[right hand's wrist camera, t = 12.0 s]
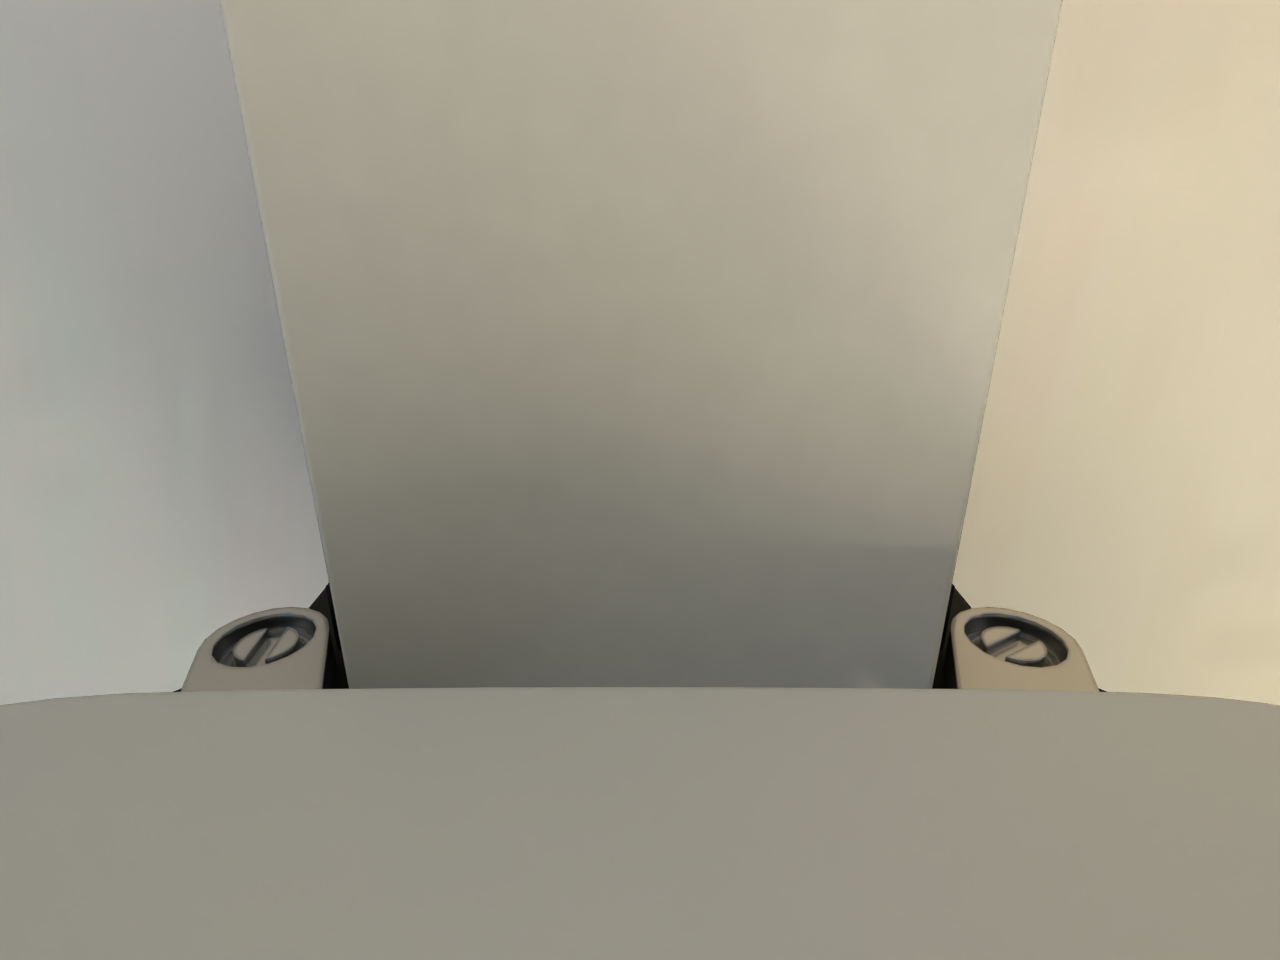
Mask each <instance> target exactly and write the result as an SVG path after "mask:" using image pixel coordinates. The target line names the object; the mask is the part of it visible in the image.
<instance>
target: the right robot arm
mask: <svg viewBox="0 0 1280 960" xmlns="http://www.w3.org/2000/svg"><path fill="white" fill-rule="evenodd" d="M0 960H1280V706H1278V705H1272V704H1266V703H1259V702H1250V701H1241V700H1233V699H1224V698H1215V697H1200V696H1184V695H1167V694H1151V693H1125V692H1106V691H1104V690H1101V689H1099V688H1098V687H1097V684H1096V682H1095V679H1094V677H1093V675H1092V672H1091V670H1090V667H1089V665H1088V663H1087V660H1086V658H1085V655H1084V653H1083V651H1082V649H1081V648H1080V646H1079V645H1078V643H1077V642H1076V640H1075V639H1074V638H1072V637H1071V636H1070V635H1069V634H1067V633H1066V632H1065V631H1064V630H1062V629H1061V628H1059V627H1057V626H1055V625H1053V624H1052V623H1050V622H1048V621H1046V620H1044V619H1041V618H1038V617H1036V616H1033V615H1030V614H1027V613H1024V612H1019V611H1015V610H1010V609H1005V608H994V607H982V608H971V607H970V606H969V604H968V603H967V602H966V601H965V600H964V598H963V597H962V596H961V595H960V594H959V592H958V591H957V590H956V589H955V586H954V585H953V584H952V586H951V591H950V596H949V602H948V607H947V612H946V617H945V623H944V628H943V633H942V638H941V644H940V649H939V654H938V660H937V665H936V670H935V675H934V681H933V686H932V689H895V688H775V687H477V688H382V689H349V685H348V680H347V675H346V669H345V664H344V659H343V653H342V648H341V643H340V637H339V632H338V627H337V622H336V616H335V611H334V606H333V600H332V595H331V590H330V584H329V583H328V585H327V586H326V588H325V589H324V590H323V592H322V593H321V594H320V595H319V596H318V598H317V599H316V600H315V601H314V602H313V604H312V605H311V606H310V607H309V609H308V608H298V607H286V608H275V609H270V610H265V611H261V612H256V613H253V614H250V615H247V616H244V617H242V618H239V619H236V620H234V621H232V622H230V623H228V624H227V625H225V626H223V627H221V628H219V629H218V630H216V631H215V632H214V633H213V634H211V635H210V636H209V637H208V638H206V639H205V640H204V642H203V643H202V645H201V646H200V648H199V649H198V651H197V653H196V655H195V658H194V660H193V663H192V665H191V667H190V670H189V672H188V675H187V677H186V679H185V682H184V684H183V687H182V688H181V689H179V690H176V691H174V692H160V693H126V694H111V695H96V696H82V697H67V698H54V699H46V700H39V701H31V702H23V703H15V704H7V705H1V706H0Z"/></svg>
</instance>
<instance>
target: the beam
mask: <svg viewBox="0 0 1280 960" xmlns="http://www.w3.org/2000/svg"><path fill="white" fill-rule="evenodd" d="M1062 1H1063V0H220V5H221V10H222V15H223V21H224V26H225V31H226V37H227V42H228V47H229V52H230V58H231V63H232V68H233V74H234V79H235V84H236V90H237V95H238V100H239V106H240V111H241V116H242V122H243V127H244V132H245V138H246V143H247V148H248V154H249V159H250V164H251V169H252V175H253V180H254V185H255V191H256V196H257V201H258V207H259V212H260V217H261V223H262V228H263V233H264V239H265V244H266V249H267V255H268V260H269V265H270V271H271V276H272V281H273V286H274V292H275V297H276V302H277V308H278V313H279V318H280V324H281V329H282V334H283V340H284V345H285V350H286V356H287V361H288V366H289V372H290V377H291V382H292V388H293V393H294V398H295V403H296V409H297V414H298V419H299V425H300V430H301V435H302V441H303V446H304V451H305V457H306V462H307V467H308V473H309V478H310V483H311V489H312V494H313V499H314V505H315V510H316V515H317V520H318V526H319V531H320V536H321V542H322V547H323V552H324V558H325V563H326V568H327V574H328V579H329V584H330V590H331V595H332V600H333V606H334V611H335V616H336V622H337V627H338V632H339V637H340V643H341V648H342V653H343V659H344V664H345V669H346V675H347V680H348V685H349V689H382V688H477V687H775V688H895V689H932V686H933V681H934V675H935V670H936V665H937V660H938V654H939V649H940V644H941V638H942V633H943V628H944V623H945V617H946V612H947V607H948V602H949V596H950V591H951V586H952V580H953V575H954V570H955V565H956V559H957V554H958V549H959V544H960V538H961V533H962V528H963V522H964V517H965V512H966V507H967V501H968V496H969V491H970V486H971V480H972V475H973V470H974V465H975V459H976V454H977V449H978V443H979V438H980V433H981V428H982V422H983V417H984V412H985V407H986V401H987V396H988V391H989V385H990V380H991V375H992V370H993V364H994V359H995V354H996V349H997V343H998V338H999V333H1000V327H1001V322H1002V317H1003V312H1004V306H1005V301H1006V296H1007V291H1008V285H1009V280H1010V275H1011V269H1012V264H1013V259H1014V254H1015V248H1016V243H1017V238H1018V233H1019V227H1020V222H1021V217H1022V211H1023V206H1024V201H1025V196H1026V190H1027V185H1028V180H1029V175H1030V169H1031V164H1032V159H1033V153H1034V148H1035V143H1036V138H1037V132H1038V127H1039V122H1040V117H1041V111H1042V106H1043V101H1044V96H1045V90H1046V85H1047V80H1048V74H1049V69H1050V64H1051V59H1052V53H1053V48H1054V43H1055V38H1056V32H1057V27H1058V22H1059V16H1060V11H1061V6H1062Z"/></svg>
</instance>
